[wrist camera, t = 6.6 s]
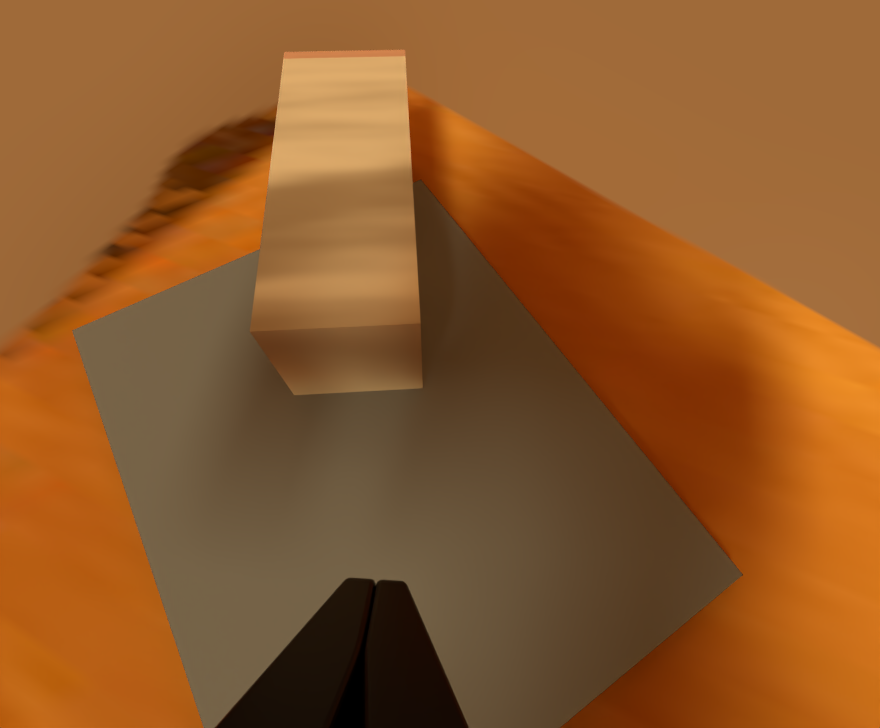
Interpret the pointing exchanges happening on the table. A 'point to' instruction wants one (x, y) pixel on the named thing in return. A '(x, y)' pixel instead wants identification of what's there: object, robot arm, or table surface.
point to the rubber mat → (397, 492)
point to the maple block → (340, 228)
